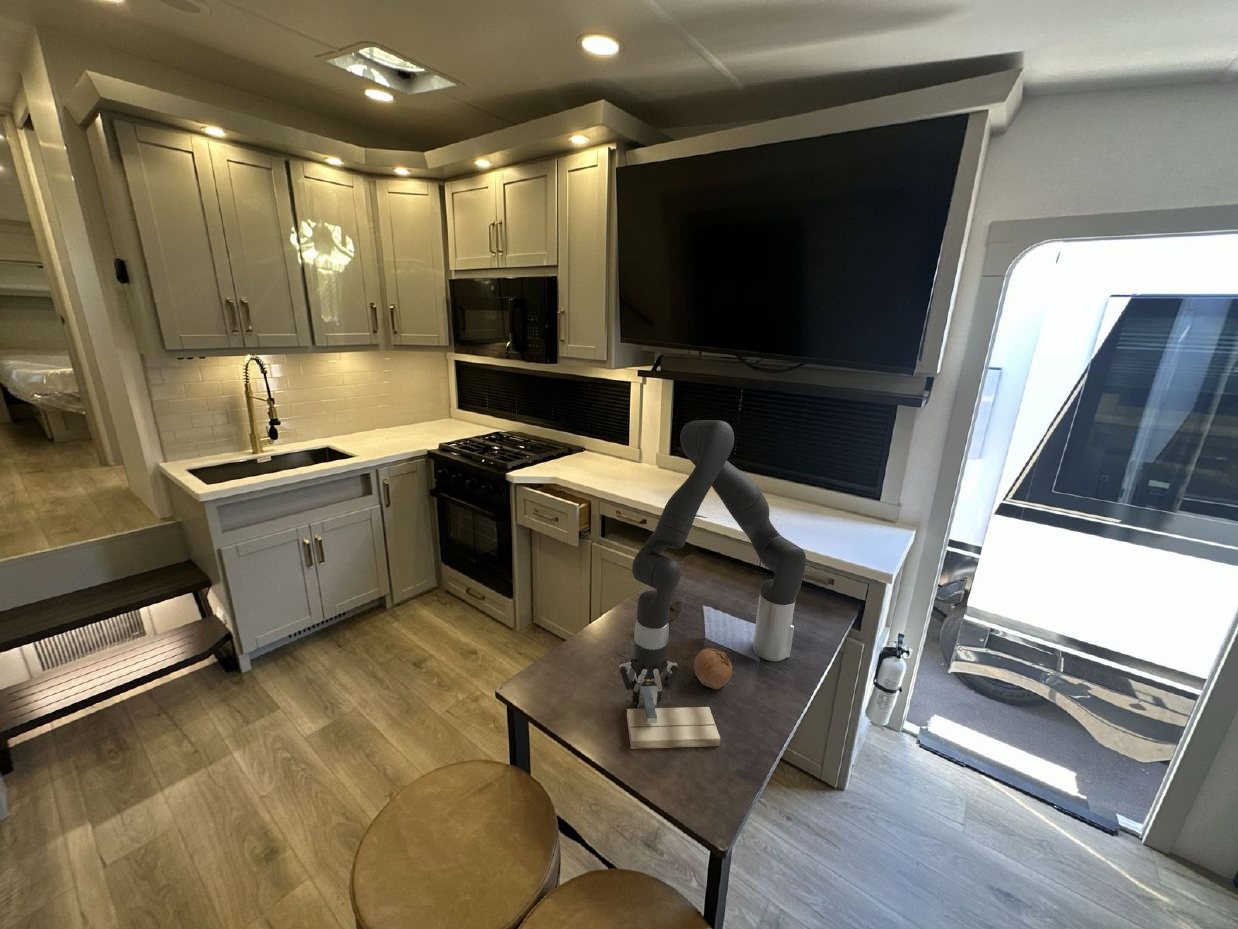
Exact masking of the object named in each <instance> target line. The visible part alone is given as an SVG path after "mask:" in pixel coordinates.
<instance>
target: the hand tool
mask: <svg viewBox="0 0 1238 929" xmlns="http://www.w3.org/2000/svg"><path fill="white" fill-rule="evenodd" d="M682 608H683V606H682V602H681V601H675V602H671V604H670V608H669V619H668V623H670V622H671V621H675V620H677V618H678V617H679V616H680V615H681V613H682V612H683V611H682Z"/></svg>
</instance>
